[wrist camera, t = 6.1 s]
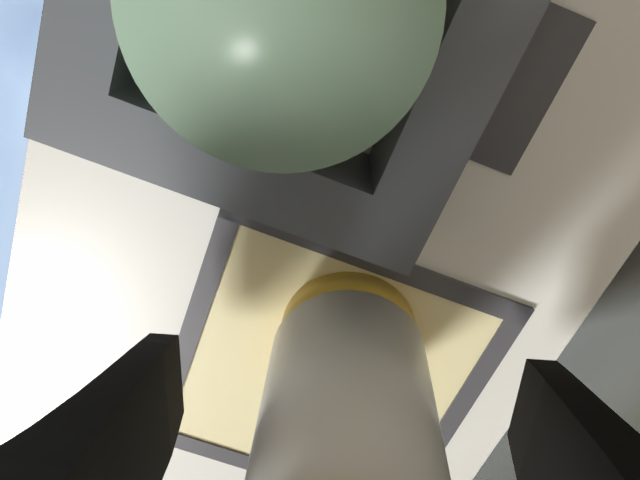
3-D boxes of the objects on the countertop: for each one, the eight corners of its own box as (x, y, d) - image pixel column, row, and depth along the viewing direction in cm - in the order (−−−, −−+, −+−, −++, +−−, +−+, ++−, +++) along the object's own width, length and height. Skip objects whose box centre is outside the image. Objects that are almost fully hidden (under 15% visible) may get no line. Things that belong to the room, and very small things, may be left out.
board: (405, 563, 18) (407, 576, 17) (-13, 437, 16) (-22, 448, 16) (825, -44, 10) (844, -44, 10) (117, -379, 9) (107, -395, 8)
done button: (362, 159, 10) (367, 215, 8) (146, 76, 10) (81, 108, 7) (465, -81, 8) (510, -102, 6) (210, -194, 8) (153, -263, 6)
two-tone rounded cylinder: (412, 392, 14) (462, 727, 8) (274, 383, 14) (214, 707, 8) (431, 271, 13) (510, 562, 6) (276, 260, 13) (204, 539, 6)
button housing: (398, 223, 12) (408, 276, 10) (84, 106, 12) (24, 136, 9) (570, -133, 9) (635, -164, 7) (167, -321, 9) (106, -418, 7)
